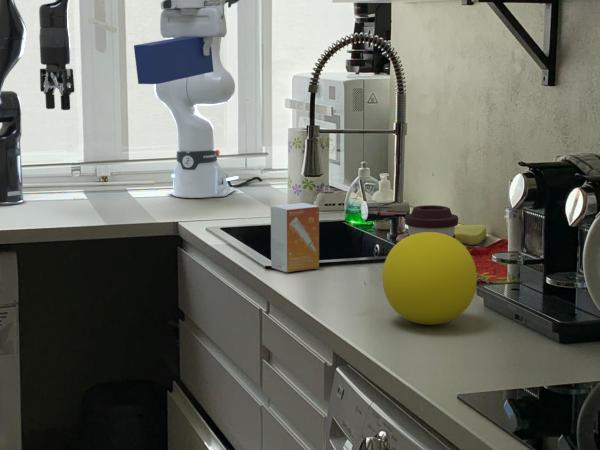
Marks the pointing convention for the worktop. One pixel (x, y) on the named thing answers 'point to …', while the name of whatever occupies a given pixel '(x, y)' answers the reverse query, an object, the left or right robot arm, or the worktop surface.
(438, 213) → the coffee cup
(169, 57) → the box
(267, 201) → the worktop surface
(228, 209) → the worktop surface
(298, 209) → the small box
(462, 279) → the toy
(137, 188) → the worktop surface
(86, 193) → the worktop surface
